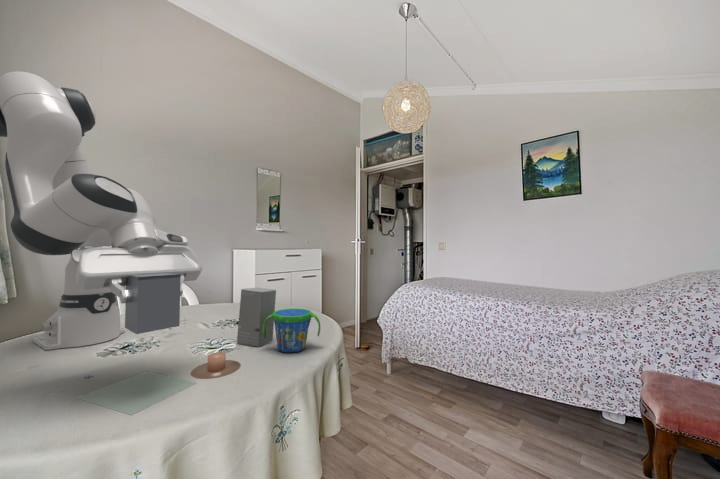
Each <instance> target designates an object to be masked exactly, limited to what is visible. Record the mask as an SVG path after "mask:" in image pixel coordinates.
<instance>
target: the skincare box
mask: <svg viewBox="0 0 720 479" xmlns="http://www.w3.org/2000/svg"><path fill="white" fill-rule="evenodd" d="M240 291H241V292H240V302H239V312H238V314H239V315H238V324H237V325H238V326H237V336H236V344H239V345H244V346H245V345H246V346H250V347H251V346H252V347H257V348H260V347H262V346H264V345H267V344H269V343H271V342H270V341H272V340H273V339H274V328H275V323H274V319H273V318H269V319H268V320H267V322H266V338H264V337H263V324H264V322H265V320H266V318H267V317H268V316H270V315H271V314H273V313H274V312H275V309H276V298H277V297H276V295H277V290H276V289H270V288H263V287H248V288H242V289H241V290H240ZM268 342H269V343H268ZM272 342H273V341H272ZM266 343H267V344H266Z"/></svg>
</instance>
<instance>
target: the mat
mask: <svg viewBox="0 0 720 479" xmlns="http://www.w3.org/2000/svg"><path fill="white" fill-rule="evenodd" d="M196 384H197V382H196V381H191V380H187V379H182V378H179V377H173V376H170V375H165V374H161V373H156V372H153V371H144V372H141V373H139V374H136V375H133V376H130V377H128V378H125V379H122V380H120V381H116V382H115V383H112V384H109V385H107V386H104V387H101V388H99V389H96V390H94V391H91V392H88V393H86V394H83V395H80V396H77V397H76V399H79V400H82V401H86V402H87V403H91V404H93V405H97V406H100V407H103V408H107V409H110V410H114V411H115V412H116V411H117V412H119V413H122V414H126V415H129V416H134V415H136V414H137V413H140V412H141V411H143V410H145V409H147V408H149V407H151V406H154V405H155V404H158V403H160V402H162V401H164V400H166V399H167V398H169V397H173V396H174V395H177V394H178V393H180V392H181V391H184V390H186V389H188V388H190V387H192V386H194V385H196Z"/></svg>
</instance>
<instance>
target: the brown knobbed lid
mask: <svg viewBox="0 0 720 479" xmlns="http://www.w3.org/2000/svg"><path fill="white" fill-rule="evenodd" d="M226 355H227V354H226V352H223V351H219V352H212V353H210V354H208V355H207V362H205V363H202V364H200V365H198V366H196V367H194V368H193V369H191V371H190V376H191V377H192V378H195V379H198V380H199V379H201V380H212V379H217V378H222V377H225V376H229V375H231V374H234V373H235V372H237V371H238V370H240V368H241V363H240V362H239V361H236V360H231V359H226Z"/></svg>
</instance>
